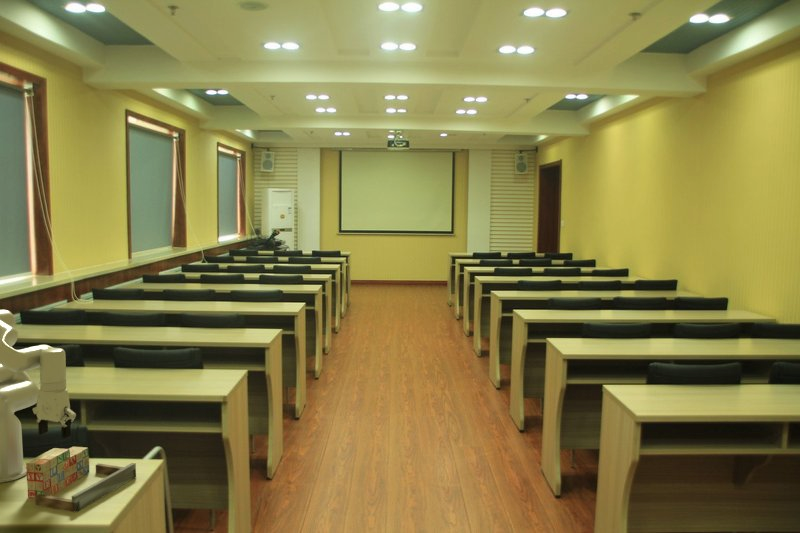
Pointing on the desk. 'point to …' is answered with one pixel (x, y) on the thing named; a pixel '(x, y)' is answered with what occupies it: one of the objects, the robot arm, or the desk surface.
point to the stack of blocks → (56, 470)
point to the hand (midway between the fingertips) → (54, 435)
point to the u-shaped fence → (91, 488)
